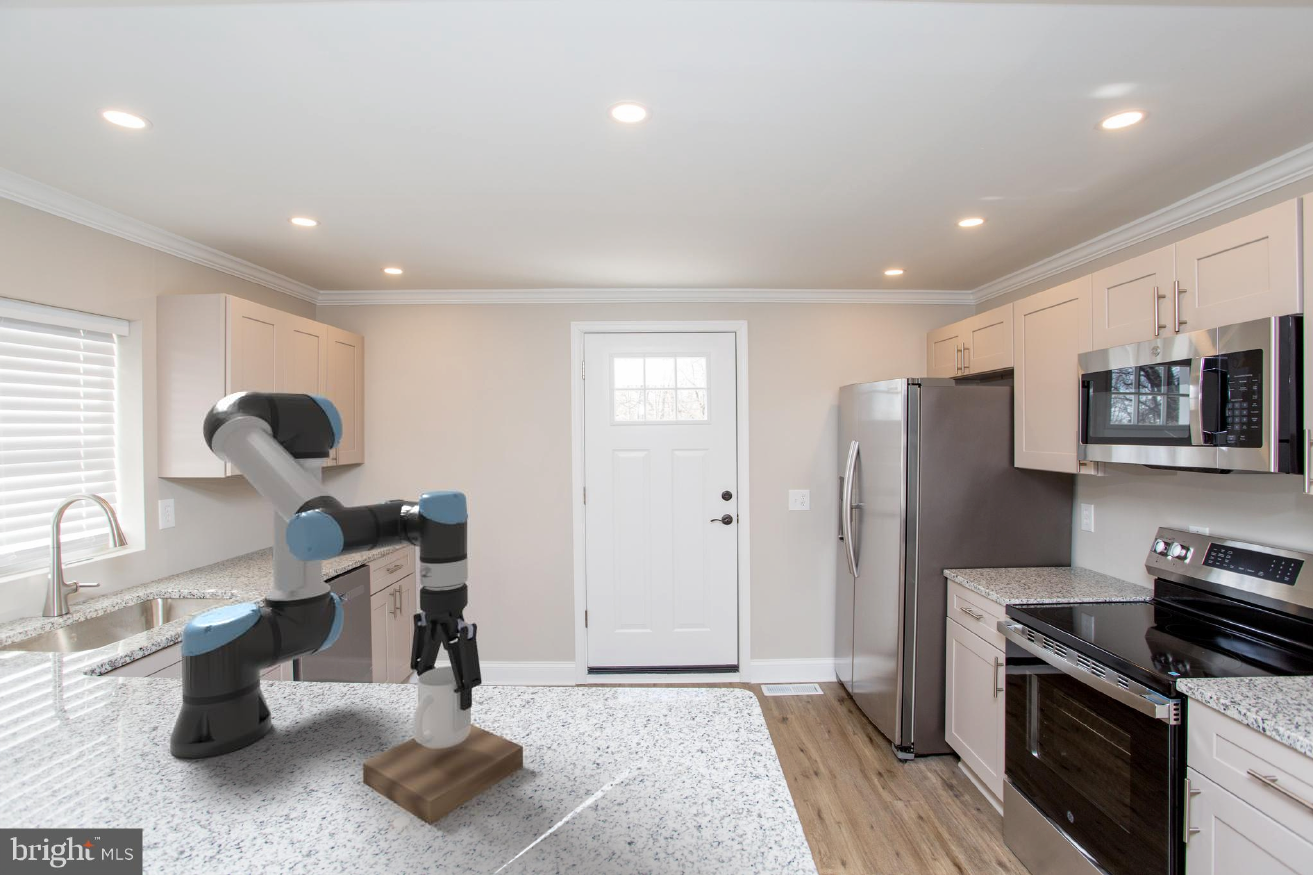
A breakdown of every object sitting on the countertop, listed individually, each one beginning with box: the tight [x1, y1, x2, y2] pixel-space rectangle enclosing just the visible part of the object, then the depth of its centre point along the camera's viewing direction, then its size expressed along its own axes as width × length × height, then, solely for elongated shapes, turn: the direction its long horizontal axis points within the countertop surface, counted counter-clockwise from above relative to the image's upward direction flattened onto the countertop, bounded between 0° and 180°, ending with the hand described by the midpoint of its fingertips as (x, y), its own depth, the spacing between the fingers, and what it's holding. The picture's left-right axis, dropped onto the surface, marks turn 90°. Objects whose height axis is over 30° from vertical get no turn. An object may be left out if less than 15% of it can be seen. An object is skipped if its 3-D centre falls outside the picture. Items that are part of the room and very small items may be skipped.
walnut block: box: [362, 723, 524, 826], centre depth 98 cm, size 18×18×4 cm
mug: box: [412, 665, 471, 749], centre depth 96 cm, size 12×8×10 cm
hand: (445, 720), depth 98 cm, fingers closed on mug, 8 cm apart
